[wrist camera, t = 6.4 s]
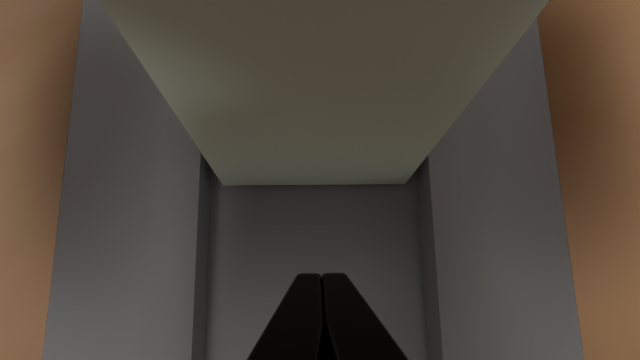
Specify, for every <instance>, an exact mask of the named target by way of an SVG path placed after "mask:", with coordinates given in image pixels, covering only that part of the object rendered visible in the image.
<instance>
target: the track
mask: <svg viewBox="0 0 640 360" xmlns="http://www.w3.org/2000/svg"><path fill="white" fill-rule="evenodd" d="M299 273H319V274H320V275H321V278H322V275H323V274H324V273H345V274H346V275H347V276H348V277H349V279H350V280H351V281H352V283H353V284H354V286H355V287H356V288H357V290H358V291H359V292H360V294H361V295H362V296H363V298H364V299H365V301H366V302H367V303H368V305H369V306H370V307H371V309H372V310H373V311H374V313H375V314H376V316H377V317H378V318H379V320H380V321H381V322H382V324H383V325H384V326H385V328H386V329H387V331H388V332H389V333H390V335H391V336H392V337H393V339H394V340H395V341H396V343H397V344H398V346H399V347H400V348H401V350H402V351H403V352H404V354H405V355H406V356H407V358H408V359H409V360H584V356H583V349H582V342H581V334H580V327H579V320H578V312H577V305H576V298H575V291H574V283H573V276H572V269H571V261H570V254H569V247H568V239H567V232H566V225H565V217H564V210H563V203H562V195H561V188H560V181H559V174H558V166H557V159H556V152H555V144H554V137H553V130H552V122H551V115H550V108H549V100H548V93H547V86H546V79H545V71H544V64H543V57H542V49H541V42H540V35H539V27H538V20H537V17H536V19H535V20H534V21H533V23H532V24H531V25H530V26H529V28H528V29H527V30H526V31H525V33H524V34H523V35H522V36H521V38H520V39H519V40H518V42H517V43H516V44H515V45H514V47H513V48H512V49H511V50H510V52H509V53H508V54H507V55H506V57H505V58H504V59H503V61H502V62H501V63H500V64H499V66H498V67H497V68H496V69H495V71H494V72H493V73H492V74H491V76H490V77H489V78H488V80H487V81H486V82H485V83H484V85H483V86H482V87H481V88H480V90H479V91H478V92H477V93H476V95H475V96H474V97H473V99H472V100H471V101H470V102H469V104H468V105H467V106H466V107H465V109H464V110H463V111H462V112H461V114H460V115H459V116H458V118H457V119H456V120H455V121H454V123H453V124H452V125H451V126H450V128H449V129H448V130H447V131H446V133H445V134H444V135H443V137H442V138H441V139H440V140H439V142H438V143H437V144H436V145H435V147H434V148H433V149H432V150H431V152H430V153H429V154H428V156H427V157H426V158H425V159H424V161H423V162H422V163H421V164H420V166H419V167H418V168H417V169H416V171H415V172H414V173H413V175H412V176H411V177H410V178H409V180H408V181H407V182H406V183H405V184H351V185H241V186H223V184H222V183H221V181H220V180H219V178H218V177H217V176H216V174H215V173H214V171H213V170H212V168H211V167H210V165H209V164H208V162H207V161H206V159H205V158H204V156H203V155H202V153H201V152H200V150H199V149H198V147H197V146H196V144H195V143H194V141H193V140H192V138H191V137H190V135H189V134H188V132H187V131H186V129H185V128H184V126H183V125H182V123H181V122H180V120H179V119H178V117H177V116H176V115H175V113H174V112H173V110H172V109H171V107H170V106H169V104H168V103H167V101H166V100H165V98H164V97H163V95H162V94H161V92H160V91H159V89H158V88H157V86H156V85H155V83H154V82H153V80H152V79H151V77H150V76H149V74H148V73H147V71H146V70H145V68H144V67H143V65H142V64H141V62H140V61H139V59H138V58H137V56H136V55H135V54H134V52H133V51H132V49H131V48H130V46H129V45H128V43H127V42H126V40H125V39H124V37H123V36H122V34H121V33H120V31H119V30H118V28H117V27H116V25H115V24H114V22H113V21H112V19H111V18H110V16H109V15H108V13H107V12H106V10H105V9H104V7H103V6H102V4H101V3H100V1H99V0H83V6H82V14H81V23H80V32H79V41H78V50H77V59H76V67H75V76H74V85H73V94H72V103H71V112H70V120H69V129H68V138H67V147H66V156H65V164H64V173H63V182H62V191H61V200H60V209H59V217H58V226H57V235H56V244H55V253H54V261H53V270H52V279H51V288H50V297H49V306H48V314H47V323H46V332H45V341H44V350H43V359H42V360H247V358H248V356H249V355H250V353H251V351H252V349H253V348H254V346H255V344H256V343H257V341H258V339H259V338H260V336H261V334H262V333H263V331H264V329H265V328H266V326H267V324H268V322H269V321H270V319H271V317H272V316H273V314H274V312H275V311H276V309H277V307H278V306H279V304H280V302H281V301H282V299H283V297H284V295H285V294H286V292H287V290H288V289H289V287H290V285H291V284H292V282H293V280H294V279H295V277H296V276H297V275H298V274H299Z"/></svg>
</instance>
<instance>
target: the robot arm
mask: <svg viewBox="0 0 640 360" xmlns="http://www.w3.org/2000/svg"><path fill="white" fill-rule="evenodd" d="M247 360H409V359H408V358H407V356H406V355H405V354H404V352H403V351H402V350H401V348H400V347H399V346H398V344H397V343H396V341H395V340H394V339H393V337H392V336H391V335H390V333H389V332H388V331H387V329H386V328H385V326H384V325H383V324H382V322H381V321H380V320H379V318H378V317H377V316H376V314H375V313H374V311H373V310H372V309H371V307H370V306H369V305H368V303H367V302H366V301H365V299H364V298H363V296H362V295H361V294H360V292H359V291H358V290H357V288H356V287H355V286H354V284H353V283H352V281H351V280H350V279H349V277H348V276H347V275H346V274H345V273H324V274H323V275H322V278H321V275H320V274H319V273H299V274H298V275H297V276H296V277H295V279H294V280H293V282H292V284H291V285H290V287H289V289H288V290H287V292H286V294H285V295H284V297H283V299H282V301H281V302H280V304H279V306H278V307H277V309H276V311H275V312H274V314H273V316H272V317H271V319H270V321H269V322H268V324H267V326H266V328H265V329H264V331H263V333H262V334H261V336H260V338H259V339H258V341H257V343H256V344H255V346H254V348H253V349H252V351H251V353H250V355H249V356H248V358H247Z"/></svg>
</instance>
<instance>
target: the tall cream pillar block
mask: <svg viewBox="0 0 640 360" xmlns="http://www.w3.org/2000/svg"><path fill="white" fill-rule="evenodd" d="M99 1H100V3H101V4H102V6H103V7H104V9H105V10H106V12H107V13H108V15H109V16H110V18H111V19H112V21H113V22H114V24H115V25H116V27H117V28H118V30H119V31H120V33H121V34H122V36H123V37H124V39H125V40H126V42H127V43H128V45H129V46H130V48H131V49H132V51H133V52H134V54H135V55H136V56H137V58H138V59H139V61H140V62H141V64H142V65H143V67H144V68H145V70H146V71H147V73H148V74H149V76H150V77H151V79H152V80H153V82H154V83H155V85H156V86H157V88H158V89H159V91H160V92H161V94H162V95H163V97H164V98H165V100H166V101H167V103H168V104H169V106H170V107H171V109H172V110H173V112H174V113H175V115H176V116H177V117H178V119H179V120H180V122H181V123H182V125H183V126H184V128H185V129H186V131H187V132H188V134H189V135H190V137H191V138H192V140H193V141H194V143H195V144H196V146H197V147H198V149H199V150H200V152H201V153H202V155H203V156H204V158H205V159H206V161H207V162H208V164H209V165H210V167H211V168H212V170H213V171H214V173H215V174H216V176H217V177H218V178H219V180H220V181H221V183H222V184H223V186H241V185H351V184H405V183H406V182H407V181H408V180H409V178H410V177H411V176H412V175H413V173H414V172H415V171H416V169H417V168H418V167H419V166H420V164H421V163H422V162H423V161H424V159H425V158H426V157H427V156H428V154H429V153H430V152H431V150H432V149H433V148H434V147H435V145H436V144H437V143H438V142H439V140H440V139H441V138H442V137H443V135H444V134H445V133H446V131H447V130H448V129H449V128H450V126H451V125H452V124H453V123H454V121H455V120H456V119H457V118H458V116H459V115H460V114H461V112H462V111H463V110H464V109H465V107H466V106H467V105H468V104H469V102H470V101H471V100H472V99H473V97H474V96H475V95H476V93H477V92H478V91H479V90H480V88H481V87H482V86H483V85H484V83H485V82H486V81H487V80H488V78H489V77H490V76H491V74H492V73H493V72H494V71H495V69H496V68H497V67H498V66H499V64H500V63H501V62H502V61H503V59H504V58H505V57H506V55H507V54H508V53H509V52H510V50H511V49H512V48H513V47H514V45H515V44H516V43H517V42H518V40H519V39H520V38H521V36H522V35H523V34H524V33H525V31H526V30H527V29H528V28H529V26H530V25H531V24H532V23H533V21H534V20H535V19H536V17H537V16H538V15H539V14H540V12H541V11H542V10H543V9H544V7H545V6H546V5H547V4H548V2H549V1H550V0H99Z"/></svg>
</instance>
